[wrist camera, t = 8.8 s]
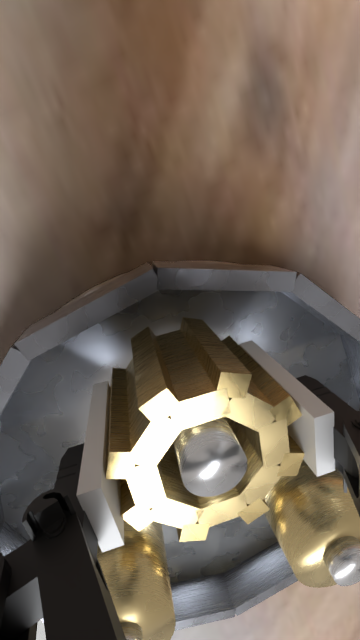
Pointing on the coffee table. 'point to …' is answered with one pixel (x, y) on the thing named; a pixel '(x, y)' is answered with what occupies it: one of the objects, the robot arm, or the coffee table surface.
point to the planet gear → (191, 410)
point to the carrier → (187, 438)
